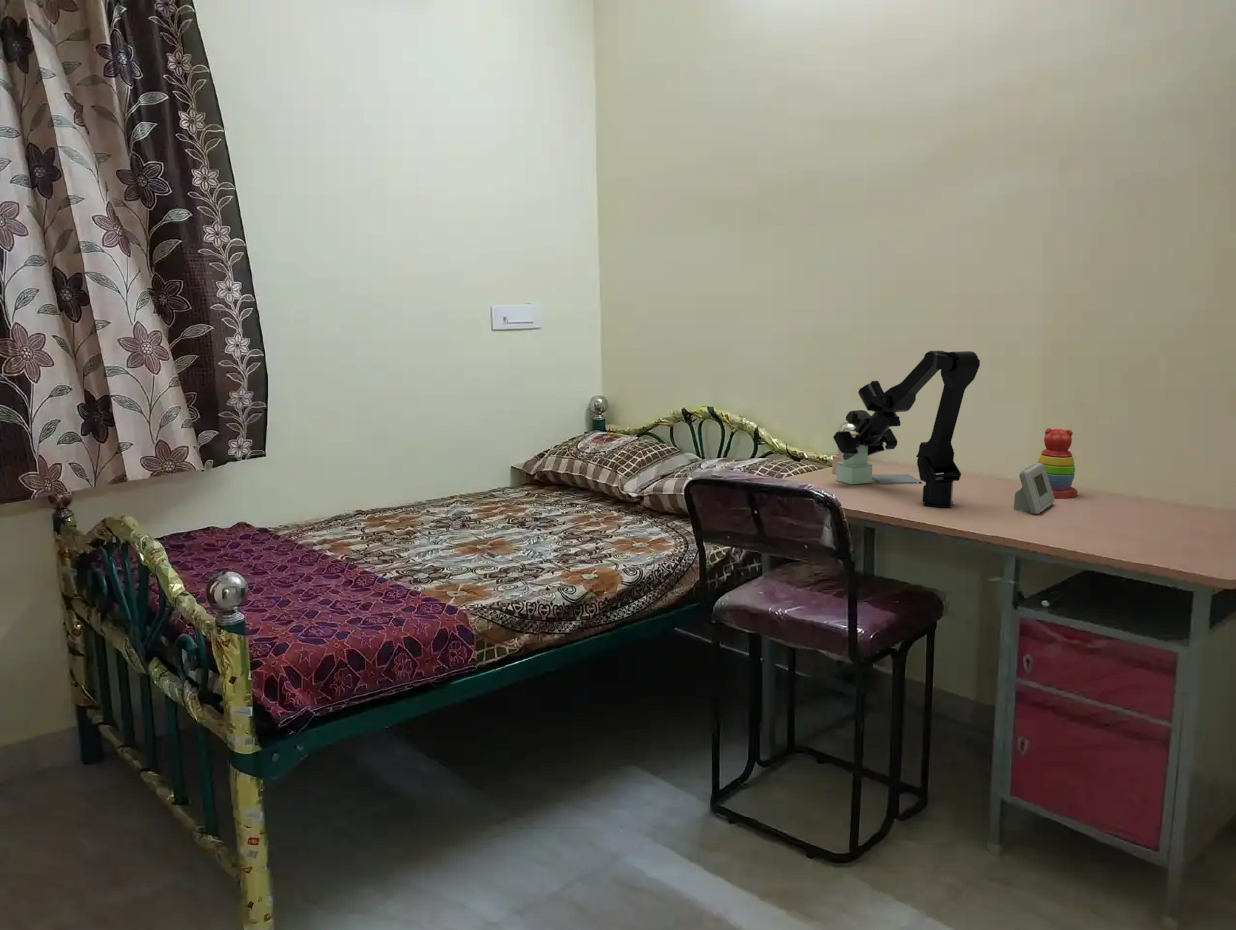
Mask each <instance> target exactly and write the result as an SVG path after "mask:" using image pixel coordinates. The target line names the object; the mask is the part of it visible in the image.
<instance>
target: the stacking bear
mask: <svg viewBox="0 0 1236 930" xmlns="http://www.w3.org/2000/svg"><path fill="white" fill-rule="evenodd" d="M1073 433H1074V432H1073V431H1072V430H1071V429H1061V428H1053V429H1052V428H1045V431H1044V434H1045V435H1044V438H1043V443H1044V447H1045V448H1044V449H1043V450H1042V451H1041V454H1040V455H1039V458H1038V460H1037V463H1041V464H1043V465H1044V467H1045V470H1046V473H1047V476H1048V480H1049V483H1050V486H1051V489H1052V492H1053V496H1054V499H1069V498H1073V497H1076V496H1077V495H1078V489H1076V488H1075V487H1072V484H1073V481H1074V480H1075V479H1074V478H1075V473H1076V466H1075V460H1074V459H1075V458H1074V457H1073V454H1072V452H1071V451H1070V450H1069V449H1070V447H1071V446H1072V444H1073V437H1072V436H1073Z"/></svg>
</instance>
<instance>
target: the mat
mask: <svg viewBox="0 0 1236 930" xmlns="http://www.w3.org/2000/svg"><path fill="white" fill-rule="evenodd" d="M872 481H875V482H876V483H879V484H880V485H893V484H892V483H917V482H922V483H923V481H921V480H919V479H918V478H916V477H914V476H913V475H910V474H908V473H900V474H899V473H897V474H896V473H893V474H892V473H891V474H890V473H889V474H884V473H883V474H882V473H881V474H873V473H872Z"/></svg>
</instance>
